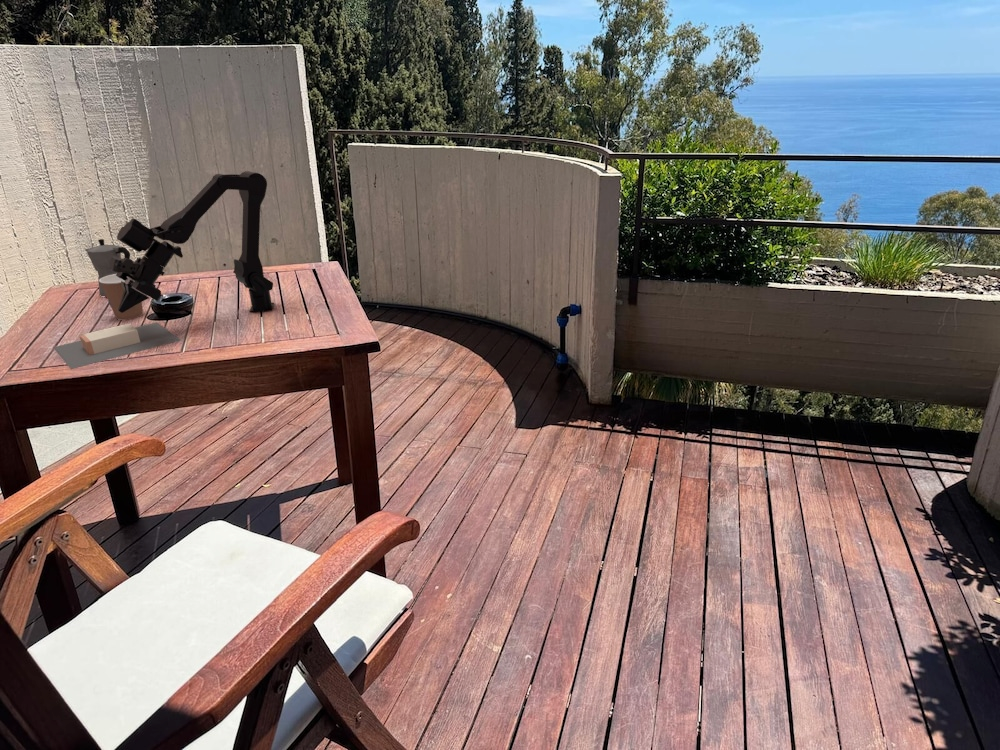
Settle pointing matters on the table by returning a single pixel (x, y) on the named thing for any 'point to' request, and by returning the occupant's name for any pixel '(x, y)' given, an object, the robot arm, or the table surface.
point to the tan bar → (109, 339)
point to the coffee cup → (118, 297)
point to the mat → (148, 338)
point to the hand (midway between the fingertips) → (120, 311)
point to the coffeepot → (105, 259)
